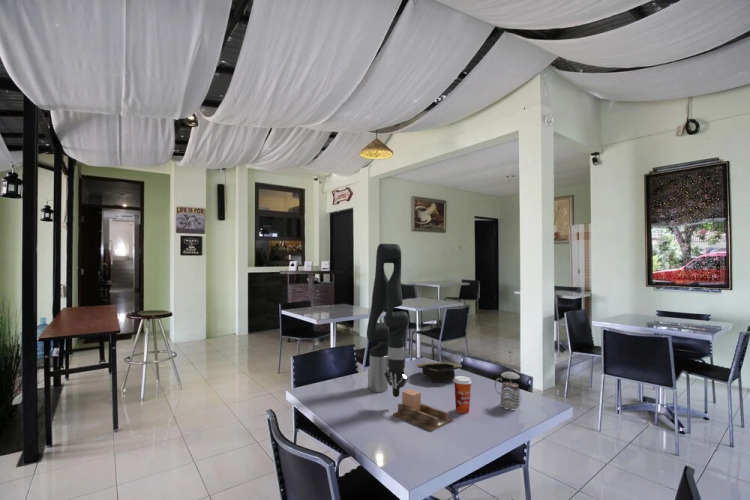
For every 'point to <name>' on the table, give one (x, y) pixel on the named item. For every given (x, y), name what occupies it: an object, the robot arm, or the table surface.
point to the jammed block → (412, 399)
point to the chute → (423, 416)
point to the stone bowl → (439, 371)
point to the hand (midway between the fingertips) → (396, 396)
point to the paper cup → (462, 393)
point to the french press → (514, 400)
